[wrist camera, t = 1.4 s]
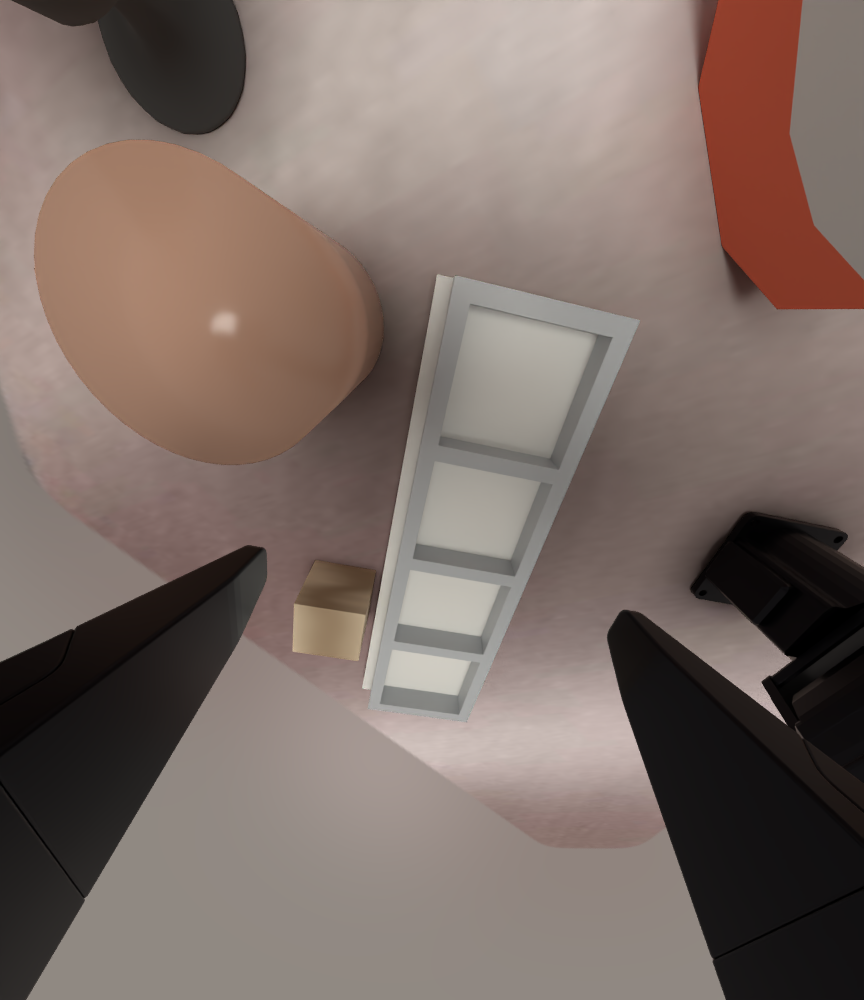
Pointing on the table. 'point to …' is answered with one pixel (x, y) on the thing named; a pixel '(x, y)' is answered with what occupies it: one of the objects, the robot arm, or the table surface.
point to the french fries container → (789, 146)
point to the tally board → (482, 482)
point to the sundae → (167, 54)
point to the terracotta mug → (200, 302)
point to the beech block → (333, 610)
